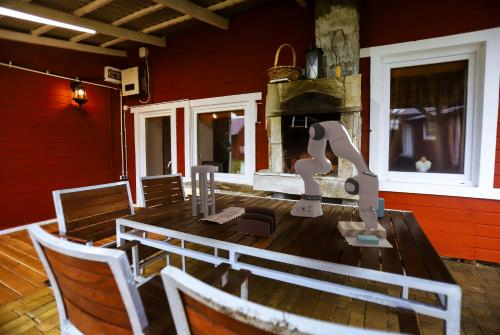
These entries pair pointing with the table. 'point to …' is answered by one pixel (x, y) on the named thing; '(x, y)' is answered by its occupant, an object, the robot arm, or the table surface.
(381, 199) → the data package
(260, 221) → the letter holder
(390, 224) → the table surface
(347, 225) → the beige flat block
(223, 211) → the grey flat ribbed slab
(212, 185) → the stool
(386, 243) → the mat
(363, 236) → the teal flat block
